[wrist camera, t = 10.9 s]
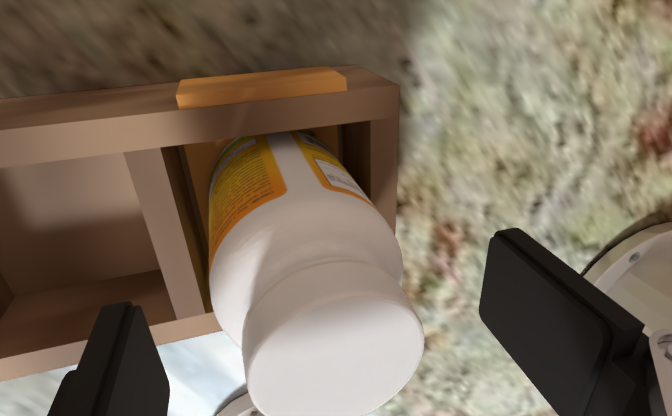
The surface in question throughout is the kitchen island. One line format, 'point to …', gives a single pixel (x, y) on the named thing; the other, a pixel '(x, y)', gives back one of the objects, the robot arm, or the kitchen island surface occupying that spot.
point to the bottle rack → (152, 195)
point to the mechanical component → (241, 407)
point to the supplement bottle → (307, 280)
